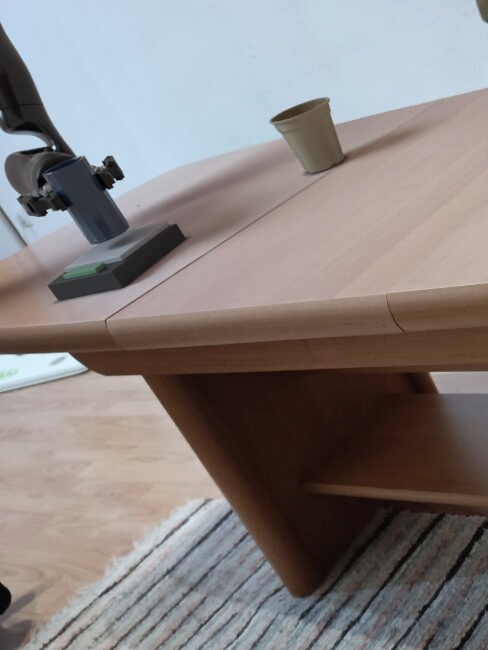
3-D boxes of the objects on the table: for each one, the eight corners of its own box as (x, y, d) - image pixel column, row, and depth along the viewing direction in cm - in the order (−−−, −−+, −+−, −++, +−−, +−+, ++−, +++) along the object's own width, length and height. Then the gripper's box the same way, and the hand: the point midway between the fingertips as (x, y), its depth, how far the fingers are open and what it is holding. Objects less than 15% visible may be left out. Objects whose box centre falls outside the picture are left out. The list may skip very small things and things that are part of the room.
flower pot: (351, 147, 137) (325, 92, 133) (358, 159, 130) (331, 101, 125) (295, 170, 136) (267, 116, 131) (299, 184, 129) (270, 126, 124)
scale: (58, 300, 117) (43, 280, 115) (124, 252, 127) (111, 233, 126) (123, 287, 113) (108, 266, 111) (186, 238, 123) (173, 218, 121)
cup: (82, 247, 117) (33, 177, 112) (108, 229, 122) (63, 160, 116) (112, 241, 115) (64, 169, 110) (138, 222, 120) (93, 152, 114)
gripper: (-6, 177, 120) (9, 189, 108) (93, 134, 126) (118, 140, 114) (30, 227, 125) (49, 244, 112) (125, 182, 130) (152, 194, 118)
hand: (84, 191), depth 113 cm, fingers closed on cup, 5 cm apart
